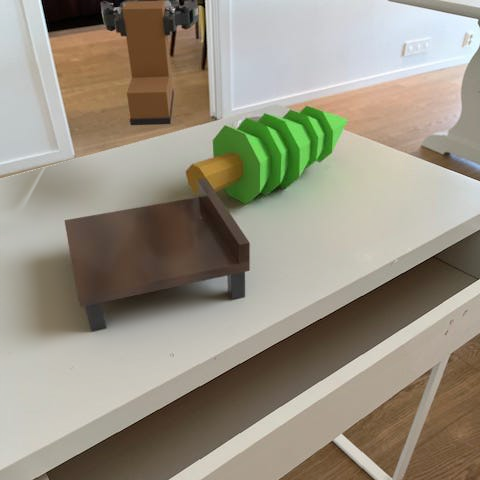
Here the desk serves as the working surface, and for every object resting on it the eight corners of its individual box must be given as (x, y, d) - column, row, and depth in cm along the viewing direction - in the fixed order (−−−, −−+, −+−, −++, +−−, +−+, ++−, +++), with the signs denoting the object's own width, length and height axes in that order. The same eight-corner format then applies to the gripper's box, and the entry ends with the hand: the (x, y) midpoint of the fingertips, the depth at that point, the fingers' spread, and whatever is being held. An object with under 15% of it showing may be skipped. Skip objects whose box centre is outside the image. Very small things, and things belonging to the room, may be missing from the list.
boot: (130, 125, 67) (114, 20, 59) (138, 95, 75) (125, 1, 67) (170, 124, 67) (160, 19, 59) (173, 94, 76) (165, 0, 68)
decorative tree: (178, 121, 66) (338, 67, 79) (171, 184, 76) (314, 127, 89) (231, 180, 63) (388, 113, 76) (216, 238, 72) (358, 170, 86)
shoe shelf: (88, 335, 53) (72, 278, 49) (73, 254, 65) (59, 201, 60) (249, 298, 58) (249, 242, 53) (209, 228, 69) (206, 177, 64)
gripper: (101, -28, 75) (81, -7, 62) (199, -29, 76) (199, -9, 63) (110, 30, 80) (93, 60, 67) (202, 28, 80) (202, 57, 68)
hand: (144, 26), depth 65 cm, fingers closed on boot, 5 cm apart
